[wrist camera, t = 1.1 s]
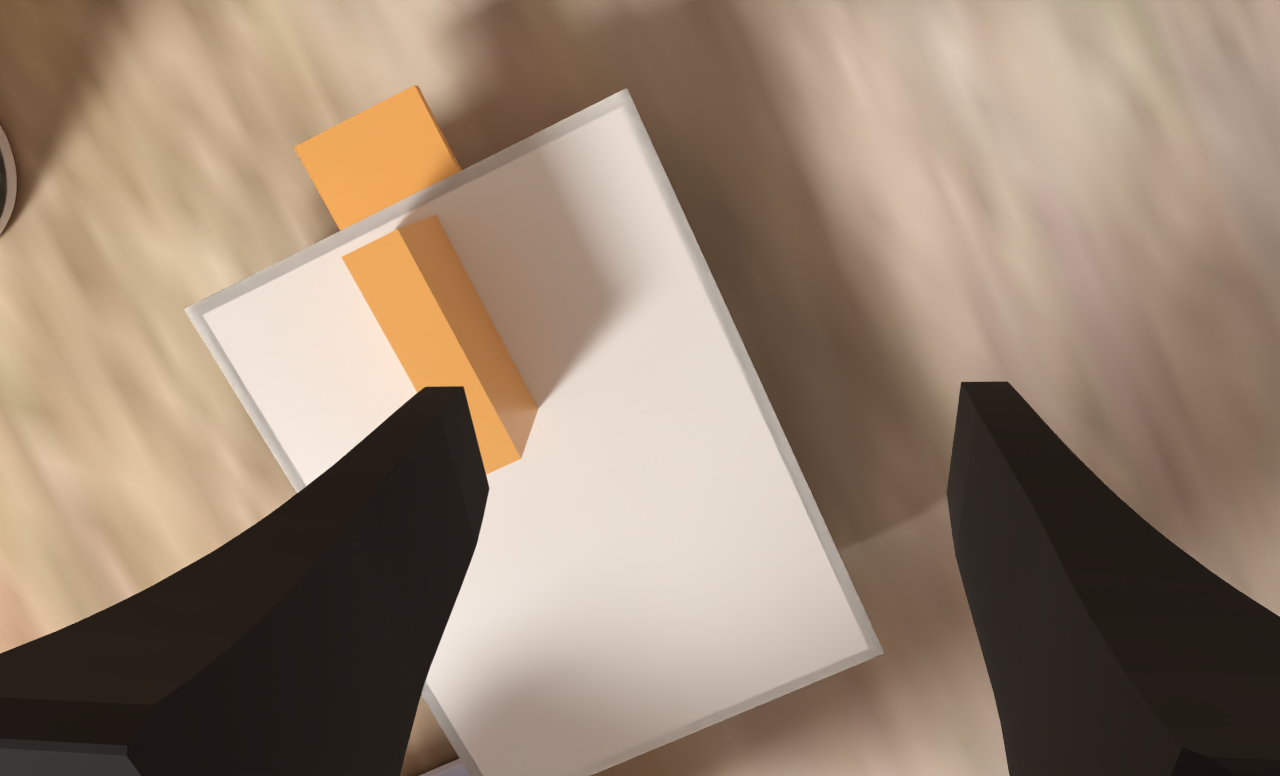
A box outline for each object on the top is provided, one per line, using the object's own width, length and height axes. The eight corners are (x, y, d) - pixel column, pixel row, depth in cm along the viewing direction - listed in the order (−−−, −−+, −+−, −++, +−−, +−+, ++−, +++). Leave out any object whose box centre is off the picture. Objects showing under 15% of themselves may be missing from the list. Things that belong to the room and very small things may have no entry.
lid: (502, 780, 26) (473, 922, 21) (165, 223, 22) (36, 246, 17) (870, 625, 25) (927, 740, 20) (588, 6, 21) (576, -33, 16)
